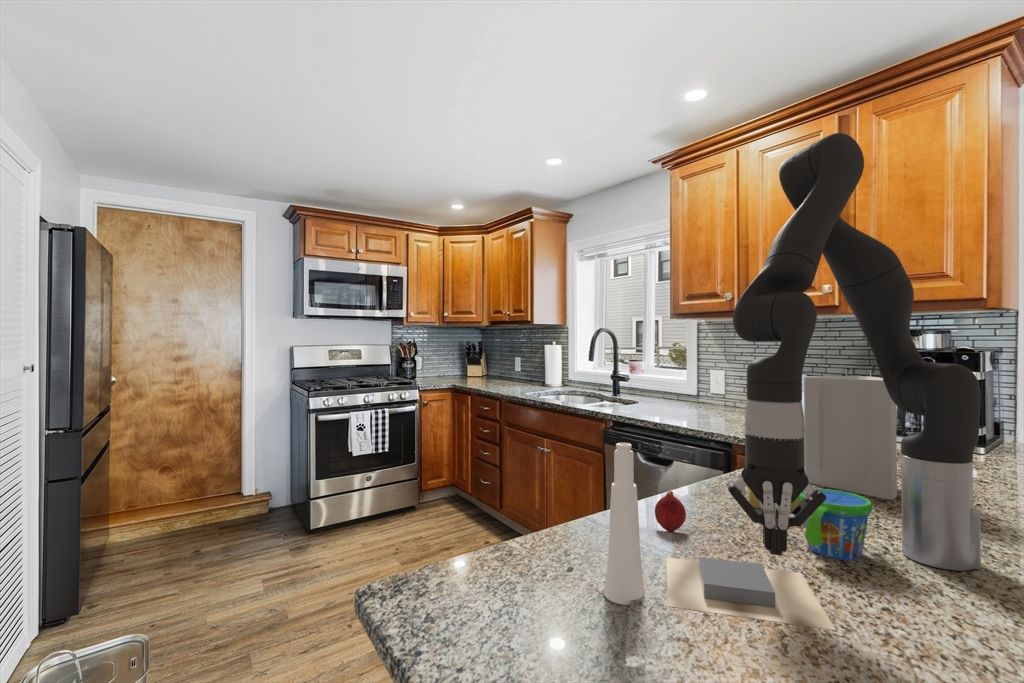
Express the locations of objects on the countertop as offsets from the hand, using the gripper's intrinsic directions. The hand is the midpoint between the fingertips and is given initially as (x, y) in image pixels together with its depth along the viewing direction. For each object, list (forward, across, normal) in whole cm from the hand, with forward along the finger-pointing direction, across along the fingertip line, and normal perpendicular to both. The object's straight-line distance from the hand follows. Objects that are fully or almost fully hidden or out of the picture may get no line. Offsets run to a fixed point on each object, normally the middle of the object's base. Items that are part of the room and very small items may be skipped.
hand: (774, 552), depth 70 cm
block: (+5, +1, 0) cm, 5 cm away
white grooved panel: (+7, -34, -69) cm, 77 cm away
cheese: (+7, -10, -47) cm, 49 cm away
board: (+7, +5, 0) cm, 8 cm away
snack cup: (+7, -13, -19) cm, 24 cm away
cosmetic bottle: (+7, +21, +5) cm, 22 cm away
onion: (+7, +14, -22) cm, 27 cm away
